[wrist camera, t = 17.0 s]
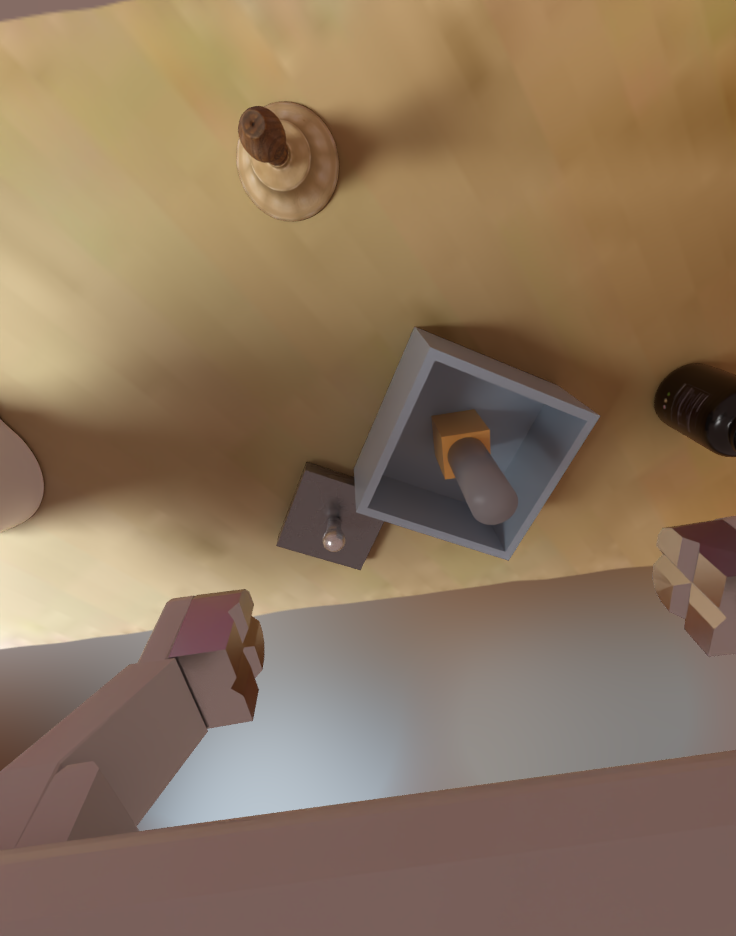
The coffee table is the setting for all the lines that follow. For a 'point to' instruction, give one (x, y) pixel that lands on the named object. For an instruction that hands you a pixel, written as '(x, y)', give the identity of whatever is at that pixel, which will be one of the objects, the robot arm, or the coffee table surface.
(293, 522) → the ball stud base
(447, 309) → the coffee table surface
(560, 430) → the bin
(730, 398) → the supplement bottle
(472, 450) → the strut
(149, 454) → the coffee table surface
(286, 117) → the hand bell
